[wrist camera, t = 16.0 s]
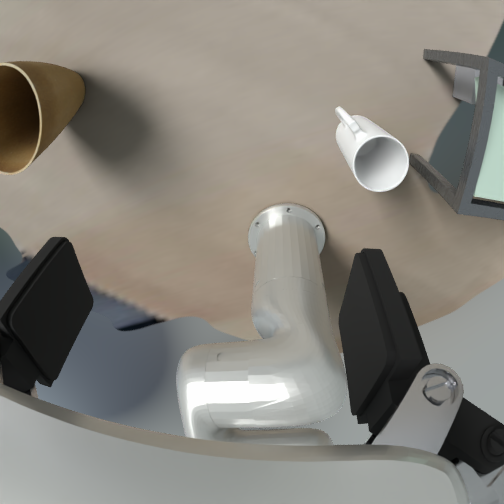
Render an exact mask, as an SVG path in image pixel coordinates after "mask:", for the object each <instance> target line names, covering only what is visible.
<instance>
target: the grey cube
mask: <svg viewBox="0 0 504 504" xmlns="http://www.w3.org/2000/svg"><path fill="white" fill-rule="evenodd" d="M479 74H480V70H476V69H472V68H467V67H462V66H457V65H456V71H455V81H454V89H453V97H455V98H458V99H460V100H463V101H465V102H468V103H471V104H474V105H476V94H475V77H479ZM502 83H503V78H501V77H498V81H497V84H499V85H501V86H502Z"/></svg>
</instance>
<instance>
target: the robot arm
mask: <svg viewBox="0 0 504 504" xmlns="http://www.w3.org/2000/svg"><path fill="white" fill-rule="evenodd" d="M288 208H290V209H288ZM257 222H259V223H257ZM248 243H249V247H250V250H251V252H252V253H253V255H254V256H255V257H256V262H255V273H254V284H253V295H252V307H251V315H252V320H253V323H254V326H255V328H256V330H257V331H258V333H259V334H260V336H261V337H262V338H263V339H258V340H253V341H241V342H227V343H214V344H204V345H198V346H194V347H192V348H190V349H188V350H187V351H186V352H185V353H184V354H183V355H182V357H181V359H180V361H179V365H178V369H177V393H178V401H179V407H180V412H181V417H182V421H183V426H184V431H185V436H186V437H183V436H177V435H171V434H165V433H159V432H154V431H149V430H144V429H139V428H135V427H130V426H126V425H122V424H117V423H114V422H110V421H106V420H102V419H99V418H95V417H91V416H88V415H84V414H81V413H78V412H75V411H72V410H68V409H66V408H63V407H59V406H57V405H54V404H51V403H48V402H45V401H43V400H40V399H38V395H37V391H36V387H35V381H36V380H37V381H38V382H39V383H40V384H42V385H45V386H48V387H51V386H52V383H53V381H54V380H56V379H57V377H58V376H59V373H60V371H61V369H62V367H63V365H64V363H65V361H66V358H67V356H68V354H69V352H70V350H71V348H72V346H73V344H74V342H75V340H76V338H77V336H78V334H79V332H80V330H81V328H82V326H83V324H84V322H85V320H86V319H87V317H88V315H89V313H90V311H91V309H92V307H93V297H92V295H91V292H90V290H89V287H88V285H87V283H86V280H85V278H84V275H83V272H82V270H81V267H80V265H79V262H78V259H77V256H76V254H75V251H74V248H73V245H72V243H71V242H69V240H68V239H67V238H65V237H52V238H50V239H49V240H48V241H47V243H46V244H45V245H44V246H43V247H42V248H41V250H40V251H39V252H38V253H37V254H36V256H35V257H34V258H33V259H32V260H31V262H30V263H29V264H28V265H27V266H26V268H25V269H24V270H23V272H22V273H21V274H20V275H19V277H18V278H17V279H16V281H15V282H14V283H13V284H12V286H11V287H10V288H9V290H8V291H7V293H6V294H5V295H4V297H3V298H2V300H1V301H0V504H504V425H503V424H502V423H500V422H499V421H497V420H496V419H494V418H493V417H491V416H490V415H488V414H487V413H486V412H484V411H483V410H481V409H480V408H478V407H477V406H475V405H474V404H472V403H471V402H469V401H468V400H466V399H465V398H463V393H464V390H463V384H462V382H461V379H460V377H459V376H458V375H457V373H456V372H455V371H454V370H452V369H451V368H450V367H448V366H445V365H442V364H430V362H429V359H428V356H427V353H426V351H425V347H424V344H423V341H422V338H421V336H420V333H419V330H418V327H417V324H416V322H415V319H414V316H413V313H412V311H411V308H410V306H409V303H408V301H407V298H406V296H405V294H404V293H402V292H399V291H398V288H397V286H396V283H395V281H394V278H393V276H392V273H391V271H390V268H389V266H388V264H387V261H386V259H385V257H384V254H383V252H382V250H380V249H365V248H364V249H362V251H361V253H356V254H355V257H354V261H353V265H352V269H351V273H350V277H349V281H348V285H347V289H346V292H345V296H344V300H343V303H342V307H341V311H340V314H339V328H340V334H341V341H342V347H343V354H344V360H345V368H346V373H345V369H344V365H343V362H342V359H341V356H340V353H339V350H338V347H337V344H336V341H335V338H334V334H333V330H332V326H331V321H330V316H329V310H328V304H327V298H326V291H325V285H324V279H323V273H322V267H321V261H320V256H319V254H320V253H321V251H322V249H323V247H324V244H325V231H324V227H323V224H322V222H321V220H320V219H319V217H318V216H317V215H316V214H315V213H314V212H313V211H311V210H310V209H308V208H306V207H304V206H301V205H298V204H292V203H282V204H277V205H273V206H270V207H268V208H266V209H264V210H263V211H261V212H260V213H259V214H258V215H257V216H256V217H255V218H254V220H253V221H252V223H251V225H250V228H249V233H248ZM346 375H347V379H346ZM347 382H348V390H349V398H350V406H351V413H352V415H357V420H358V424H365V423H368V426H369V431H370V432H371V435H370V436H369V437H368V439H367V440H366V442H365V443H364V444H363V445H333V442H332V440H331V438H330V437H329V435H328V434H326V433H325V432H324V431H321V430H319V429H312V428H291V429H270V430H241V429H239V428H278V427H294V426H303V425H309V424H313V423H317V422H321V421H324V420H326V419H328V418H330V417H331V416H333V415H334V414H336V413H337V412H338V411H339V410H340V408H341V407H342V406H343V403H344V401H345V398H346V394H347Z"/></svg>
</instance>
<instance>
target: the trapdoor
mask: <svg viewBox="0 0 504 504" xmlns="http://www.w3.org/2000/svg"><path fill="white" fill-rule="evenodd" d="M478 83H479V77H475V94H476V98H477V91H478ZM473 196H475V197H481V198H487V199H492V200H498V201H503V202H504V86H501V85H499V84H497V89H496V96H495V103H494V109H493V115H492V121H491V126H490V131H489V136H488V141H487V145H486V150H485V154H484V158H483V162H482V166H481V170H480V174H479V177H478V181H477V184H476V188H475V191H474V194H473Z"/></svg>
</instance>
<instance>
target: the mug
mask: <svg viewBox="0 0 504 504" xmlns="http://www.w3.org/2000/svg"><path fill="white" fill-rule="evenodd" d="M335 112H336V115H337V117H338V118H339V119H340V121H341V123H340V124H339V125H338V127H337V130H336V141H337V144H338V146H339V148H340V150H341V152H342V154H343V155H344V157H345V159H346V161H347V163H348V165H349V167H350V169H351V170H352V172H353V174H354V176H355V177H356V179H357V181H358V182H359V183H360V184H361V185H362V186H363V187H365V188H366V189H368V190H371V191H375V192H384V191H388V190H391V189H393V188H395V187H396V186H398V185H399V184H400V183H401V182H402V181H403V179H404V178H405V176H406V174H407V171H408V167H409V157H408V153H407V151H406V149H405V147H404V146H403V144H402V143H401V142H400V141H398V140H397V139H396V138H395V137H393V136H392V135H390V134H389V133H388V132H386V131H385V130H384V129H382V128H381V127H379V126H378V125H377V124H375V123H374V122H372V121H371V120H369V119H368V118H366V117H363V116H360V115H353V116H350V115H349V114H348V113H347V112H346V111H345V110H344V109H343V108H341V107H337V108H336V109H335Z"/></svg>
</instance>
